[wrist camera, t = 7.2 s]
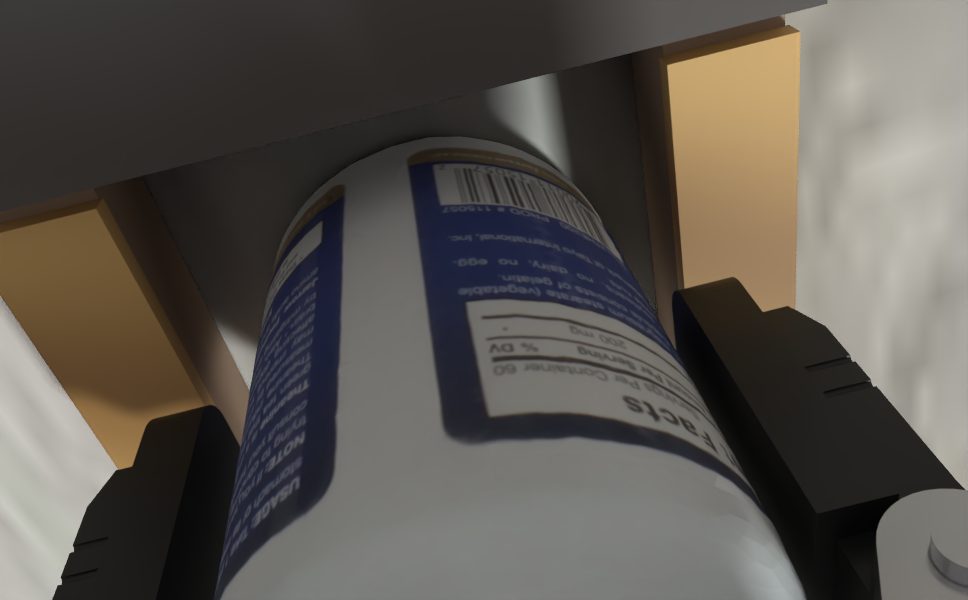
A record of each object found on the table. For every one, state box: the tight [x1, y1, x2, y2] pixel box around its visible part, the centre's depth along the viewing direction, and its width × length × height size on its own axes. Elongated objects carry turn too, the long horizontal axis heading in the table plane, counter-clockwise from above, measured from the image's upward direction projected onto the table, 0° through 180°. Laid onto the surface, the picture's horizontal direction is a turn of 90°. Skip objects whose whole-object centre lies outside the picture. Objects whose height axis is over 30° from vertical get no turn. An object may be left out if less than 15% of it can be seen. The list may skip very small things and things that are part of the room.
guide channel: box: [0, 0, 827, 470], centre depth 15 cm, size 22×10×2 cm, turn 12°
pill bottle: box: [214, 136, 807, 600], centre depth 9 cm, size 5×5×10 cm
